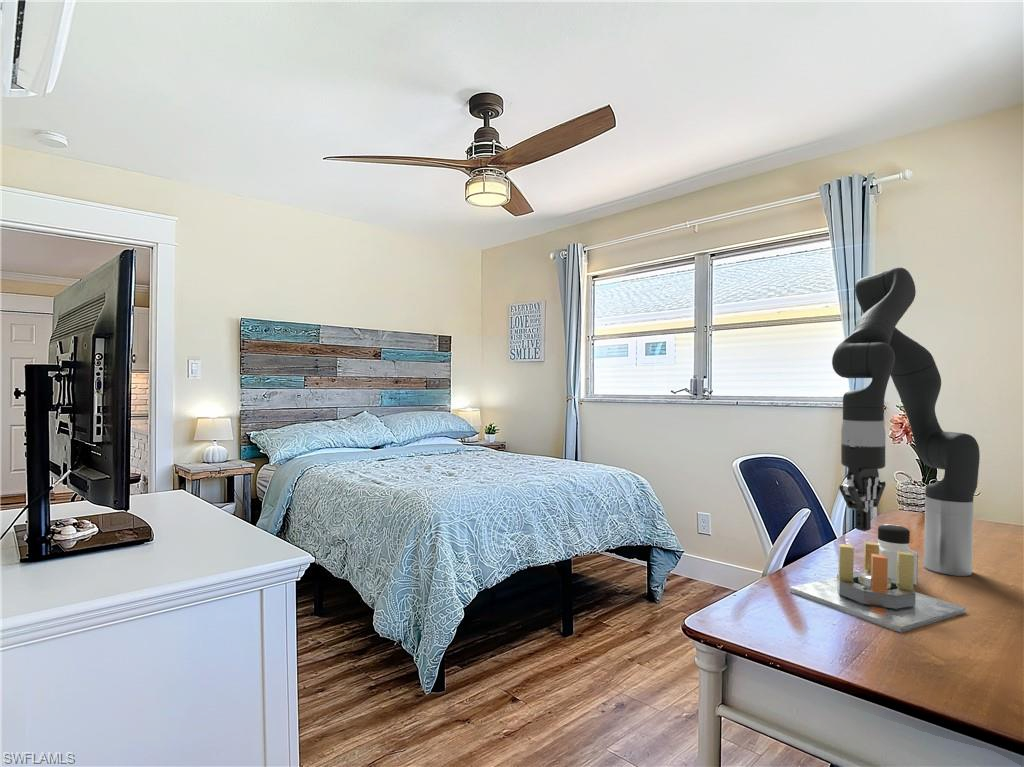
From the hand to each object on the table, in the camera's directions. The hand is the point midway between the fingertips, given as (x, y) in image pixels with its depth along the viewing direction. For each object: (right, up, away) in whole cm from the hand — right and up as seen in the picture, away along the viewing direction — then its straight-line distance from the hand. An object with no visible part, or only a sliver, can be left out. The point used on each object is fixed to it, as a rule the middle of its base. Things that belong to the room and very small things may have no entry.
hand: (862, 529), depth 115 cm
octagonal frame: (+3, -14, +2) cm, 14 cm away
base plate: (+3, -15, +2) cm, 15 cm away
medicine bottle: (+17, -16, +17) cm, 28 cm away
